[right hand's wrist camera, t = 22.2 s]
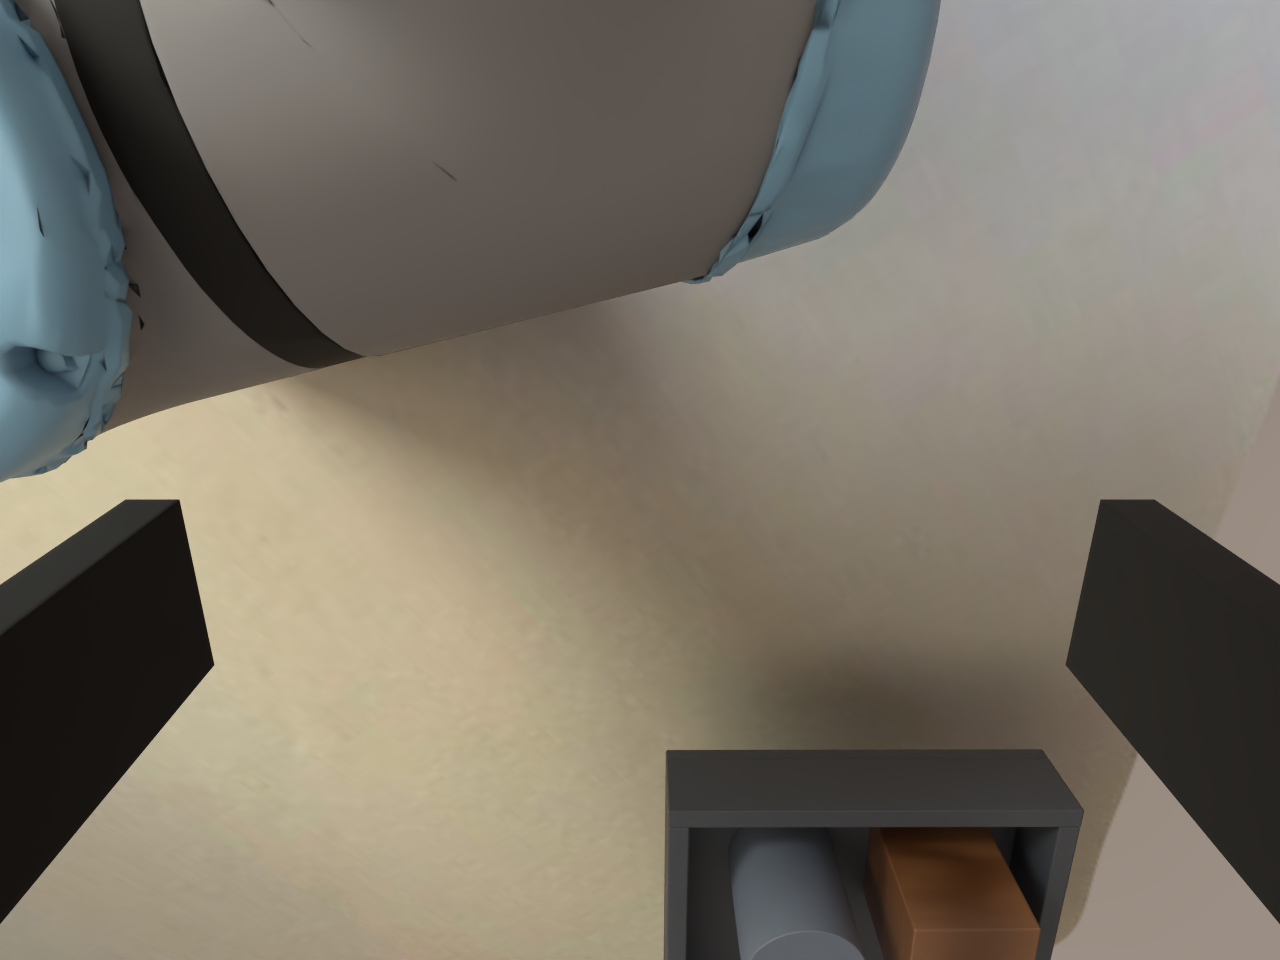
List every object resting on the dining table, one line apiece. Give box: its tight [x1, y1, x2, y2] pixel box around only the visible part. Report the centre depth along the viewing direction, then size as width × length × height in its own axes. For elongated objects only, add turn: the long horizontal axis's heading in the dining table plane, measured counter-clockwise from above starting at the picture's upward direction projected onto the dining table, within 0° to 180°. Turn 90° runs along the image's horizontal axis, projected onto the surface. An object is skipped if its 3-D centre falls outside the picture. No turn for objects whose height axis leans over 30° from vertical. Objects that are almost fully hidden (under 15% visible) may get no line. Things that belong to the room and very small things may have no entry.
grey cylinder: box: [728, 827, 865, 960], centre depth 34 cm, size 4×4×6 cm
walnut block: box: [864, 827, 1041, 960], centre depth 34 cm, size 4×4×6 cm
